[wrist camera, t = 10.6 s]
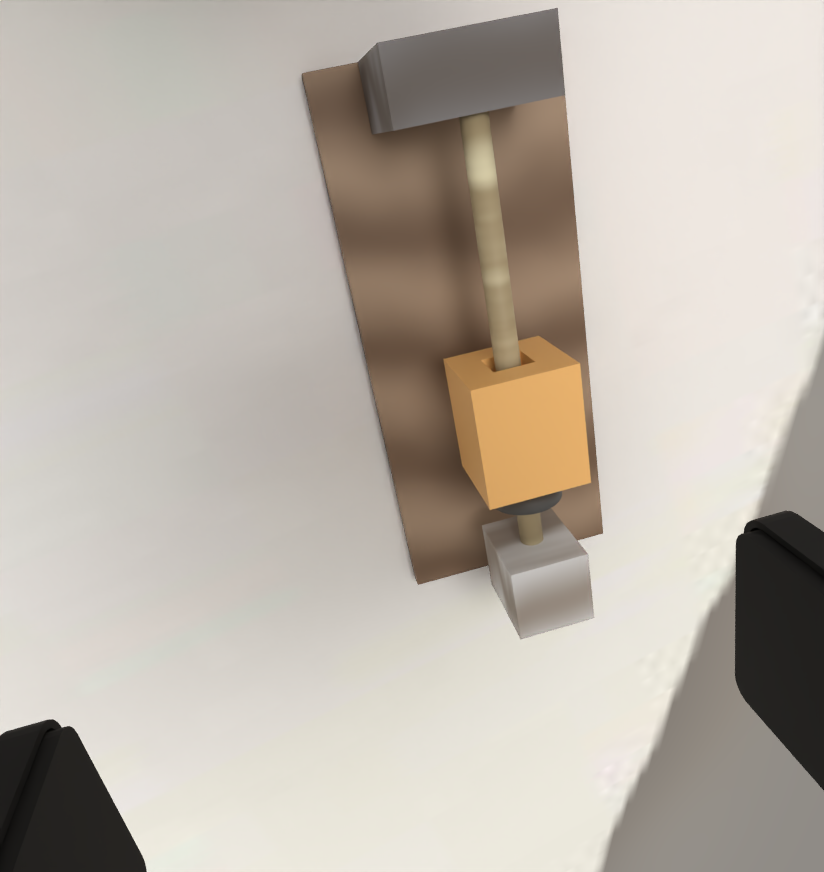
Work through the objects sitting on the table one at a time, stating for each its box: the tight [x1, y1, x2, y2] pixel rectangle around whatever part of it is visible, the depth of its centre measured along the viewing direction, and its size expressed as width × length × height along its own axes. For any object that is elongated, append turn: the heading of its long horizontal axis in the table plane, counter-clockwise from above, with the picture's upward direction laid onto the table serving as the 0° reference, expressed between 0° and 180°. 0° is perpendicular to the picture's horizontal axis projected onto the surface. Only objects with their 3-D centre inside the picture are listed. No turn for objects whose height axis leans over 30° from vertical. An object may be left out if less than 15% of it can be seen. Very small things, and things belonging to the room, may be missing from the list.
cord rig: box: [302, 8, 603, 639], centre depth 34 cm, size 28×12×8 cm, turn 11°
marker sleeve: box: [443, 336, 591, 510], centre depth 33 cm, size 6×5×5 cm
